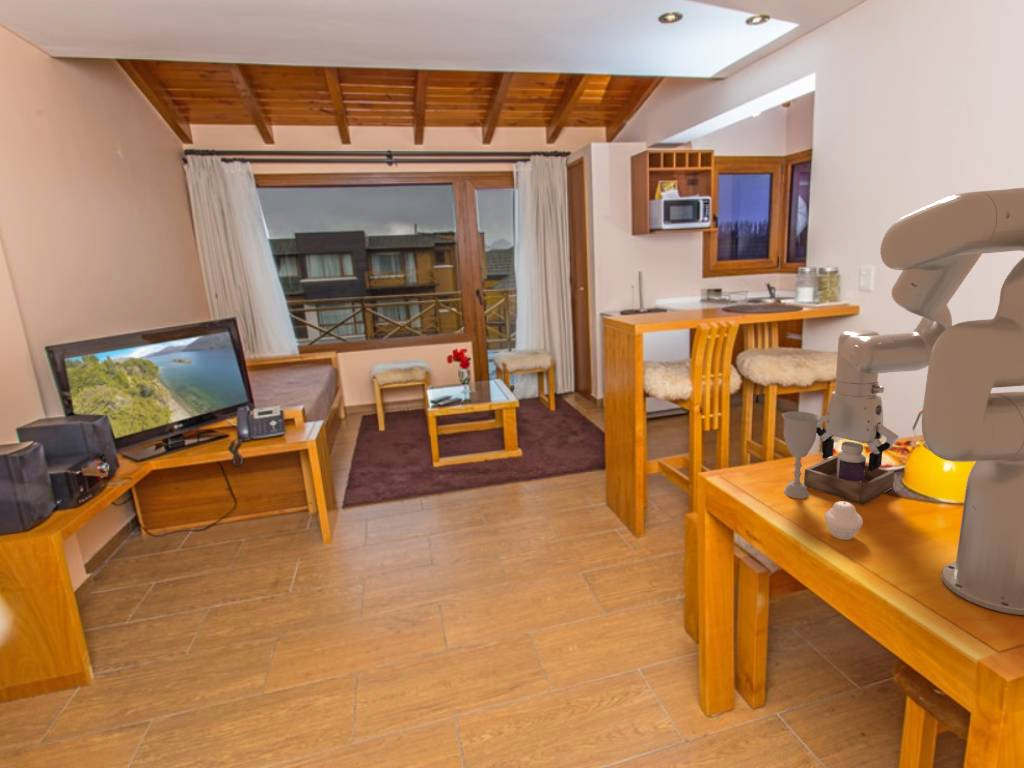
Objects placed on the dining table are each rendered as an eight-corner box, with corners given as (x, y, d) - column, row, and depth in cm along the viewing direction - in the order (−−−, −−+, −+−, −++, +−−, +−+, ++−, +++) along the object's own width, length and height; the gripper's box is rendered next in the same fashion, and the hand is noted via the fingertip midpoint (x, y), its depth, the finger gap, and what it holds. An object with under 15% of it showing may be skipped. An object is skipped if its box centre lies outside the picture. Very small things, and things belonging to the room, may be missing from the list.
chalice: (772, 493, 119) (776, 416, 115) (785, 484, 123) (789, 409, 119) (807, 503, 114) (812, 423, 109) (820, 493, 118) (825, 415, 114)
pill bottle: (869, 489, 116) (872, 448, 114) (844, 491, 116) (847, 449, 114) (854, 479, 122) (857, 439, 119) (830, 481, 122) (832, 441, 119)
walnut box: (892, 488, 117) (894, 471, 116) (863, 505, 111) (864, 487, 110) (834, 471, 128) (835, 455, 127) (803, 486, 122) (804, 469, 121)
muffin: (842, 547, 97) (845, 512, 95) (815, 531, 103) (817, 498, 101) (869, 540, 98) (872, 505, 97) (841, 525, 104) (843, 492, 103)
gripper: (910, 391, 109) (902, 470, 113) (824, 379, 123) (820, 448, 127) (892, 398, 105) (884, 479, 109) (805, 385, 120) (801, 456, 123)
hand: (849, 462), depth 118 cm, fingers open, 9 cm apart
